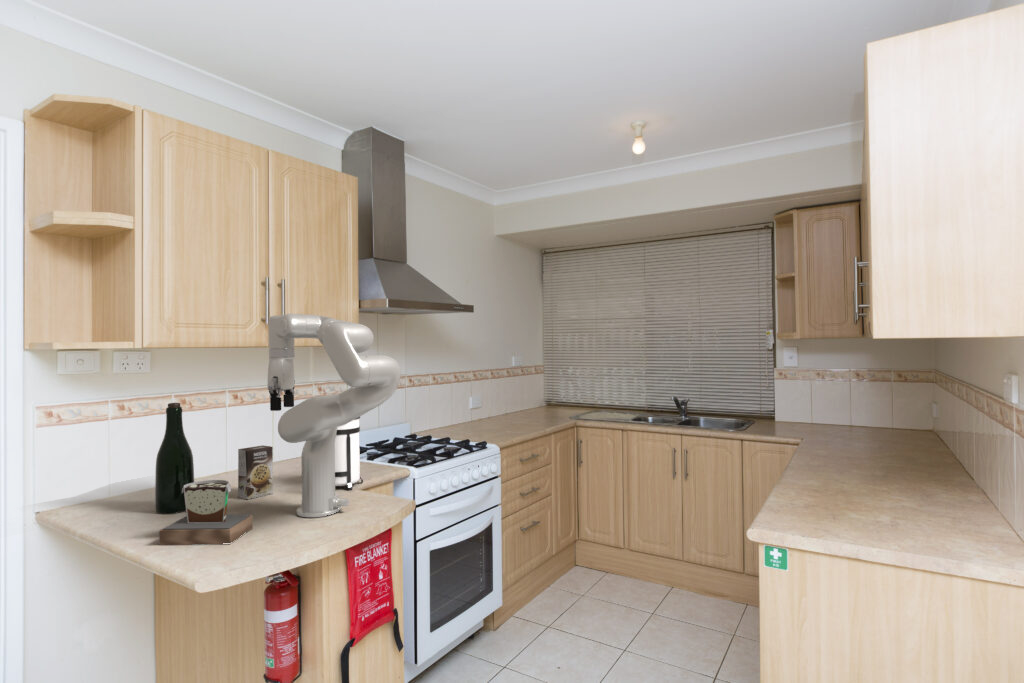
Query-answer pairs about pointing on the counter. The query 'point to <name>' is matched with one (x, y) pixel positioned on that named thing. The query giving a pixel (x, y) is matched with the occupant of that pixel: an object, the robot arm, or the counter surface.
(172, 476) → the beer bottle
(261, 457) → the coffee box
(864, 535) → the counter surface
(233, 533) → the plinth
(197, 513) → the food container
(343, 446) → the coffee press
